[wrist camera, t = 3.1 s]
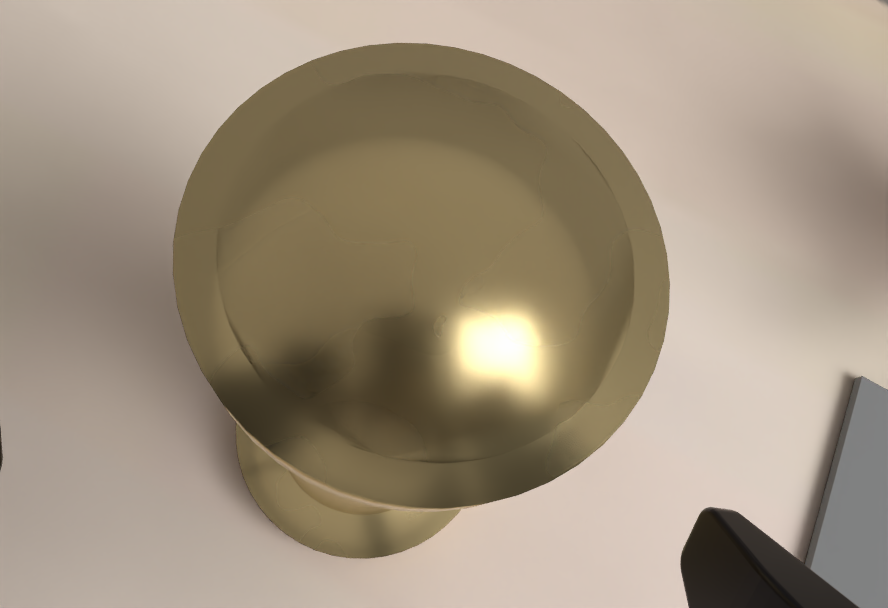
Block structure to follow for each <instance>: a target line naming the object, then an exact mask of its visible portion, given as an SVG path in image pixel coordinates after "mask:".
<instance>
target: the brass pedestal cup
mask: <svg viewBox="0 0 888 608" xmlns="http://www.w3.org/2000/svg"><path fill="white" fill-rule="evenodd" d="M173 277H174V285H175V292H176V299H177V307H178V310H179V314H180V317H181V320H182V324H183V327H184V331H185V334H186V337H187V340H188V343H189V345H190V347H191V349H192V351H193V353H194V356H195V358H196V360H197V362H198V364H199V366H200V369H201V371H202V373H203V374H204V376H205V377H206V379H207V380H208V382H209V383H210V385H211V386H212V388H213V389H214V391H215V393H216V394H217V396H218V397H219V399H220V400H221V402H222V403H223V405H224V406H225V408H226V409H227V411H228V412H229V414H230V415H231V417H232V418H233V419H234V420H235V421H236V447H237V453H238V460H239V464H240V467H241V471H242V474H243V477H244V480H245V482H246V484H247V486H248V488H249V491H250V493H251V495H252V496H253V498H254V499H255V501H256V502H257V504H258V506H259V507H260V509H261V510H262V511H263V512H264V513H265V514H266V516H267V517H268V518H269V519H270V520H271V521H272V522H273V523H274V524H275V525H276V526H277V527H278V528H280V529H281V530H282V531H283V532H284V533H285V534H287V535H288V536H290V537H291V538H293V539H295V540H296V541H298V542H299V543H301V544H303V545H305V546H307V547H310V548H312V549H314V550H316V551H320V552H323V553H326V554H329V555H333V556H339V557H346V558H375V557H383V556H388V555H391V554H395V553H399V552H402V551H405V550H407V549H409V548H412V547H414V546H417V545H419V544H420V543H422V542H424V541H425V540H427V539H429V538H431V537H432V536H434V535H435V534H436V533H437V532H439V531H440V530H441V529H442V528H444V527H445V526H446V525H447V524H448V523H449V522H450V521H451V520H452V519H453V518H454V517H455V516H456V515H457V514H458V513H459V511H460V510H461V509H465V508H470V507H474V506H478V505H482V504H486V503H489V502H493V501H497V500H501V499H505V498H509V497H513V496H517V495H519V494H522V493H524V492H527V491H529V490H531V489H534V488H536V487H539V486H541V485H544V484H546V483H548V482H550V481H552V480H554V479H555V478H557V477H559V476H560V475H562V474H564V473H565V472H567V471H569V470H571V469H572V468H574V467H576V466H577V465H579V464H580V463H581V462H582V461H584V460H585V459H586V458H587V457H588V456H590V455H591V454H592V453H593V452H595V451H596V450H597V449H598V448H600V447H601V446H602V445H603V444H604V443H605V442H606V441H607V440H608V439H609V438H610V437H611V435H612V434H613V433H614V432H615V431H616V430H617V429H618V428H619V427H620V426H621V425H622V424H623V422H624V421H625V420H626V418H627V417H628V415H629V414H630V412H631V411H632V409H633V408H634V407H635V405H636V404H637V402H638V401H639V399H640V398H641V396H642V394H643V392H644V390H645V388H646V386H647V384H648V382H649V380H650V378H651V376H652V374H653V372H654V370H655V367H656V364H657V360H658V357H659V354H660V351H661V348H662V345H663V342H664V337H665V331H666V325H667V319H668V313H669V289H670V281H669V271H668V261H667V253H666V249H665V244H664V240H663V236H662V231H661V227H660V224H659V221H658V219H657V216H656V213H655V210H654V208H653V205H652V202H651V200H650V198H649V196H648V194H647V192H646V190H645V188H644V186H643V184H642V182H641V180H640V178H639V176H638V174H637V173H636V171H635V170H634V168H633V167H632V165H631V163H630V162H629V160H628V159H627V157H626V156H625V154H624V153H623V151H622V150H621V149H620V148H619V146H618V145H617V144H616V143H615V142H614V140H613V139H612V138H611V137H610V136H609V134H608V133H607V132H606V131H605V130H604V129H603V128H602V127H601V126H600V125H599V124H598V123H597V122H596V121H595V120H594V119H593V118H592V117H591V116H590V115H589V114H588V113H587V112H586V111H585V110H584V109H582V108H581V107H580V106H579V105H577V104H576V103H575V102H573V101H572V100H571V99H570V98H568V97H567V96H566V95H564V94H563V93H562V92H560V91H559V90H557V89H556V88H554V87H552V86H551V85H549V84H547V83H546V82H544V81H543V80H541V79H539V78H538V77H536V76H534V75H532V74H530V73H528V72H526V71H524V70H522V69H519V68H517V67H515V66H513V65H511V64H509V63H506V62H503V61H500V60H498V59H495V58H492V57H489V56H486V55H484V54H480V53H476V52H471V51H467V50H463V49H459V48H455V47H448V46H440V45H433V44H419V43H391V44H379V45H368V46H363V47H358V48H353V49H348V50H343V51H339V52H336V53H333V54H330V55H327V56H324V57H321V58H318V59H315V60H312V61H310V62H307V63H305V64H303V65H301V66H299V67H297V68H295V69H293V70H290V71H288V72H286V73H284V74H283V75H281V76H280V77H278V78H277V79H275V80H273V81H272V82H270V83H269V84H267V85H265V86H264V87H262V88H261V89H260V90H258V91H257V92H256V93H255V94H254V95H252V96H251V97H250V98H249V99H248V100H246V101H245V102H244V103H243V104H242V105H240V106H239V107H238V108H237V109H236V110H235V111H234V113H233V114H232V115H231V116H230V117H229V118H228V119H227V120H226V121H225V122H224V123H223V125H222V126H221V127H220V128H219V129H218V130H217V132H216V133H215V135H214V136H213V138H212V139H211V141H210V142H209V143H208V145H207V146H206V148H205V149H204V151H203V152H202V154H201V156H200V158H199V160H198V162H197V164H196V166H195V168H194V170H193V172H192V174H191V176H190V178H189V180H188V183H187V186H186V189H185V192H184V195H183V198H182V201H181V204H180V208H179V211H178V217H177V223H176V229H175V235H174V241H173Z"/></svg>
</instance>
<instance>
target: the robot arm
mask: <svg viewBox="0 0 888 608" xmlns="http://www.w3.org/2000/svg"><path fill="white" fill-rule="evenodd" d="M2 460H3V455H2V442H1V428H0V470H1V467H2ZM681 573H682V577H683V582H684V587H685V592H686V596H687V601H688V606H689V608H859V607H858V606H857V605H856V604H854V603H853V602H852V601H850V600H849V599H848V598H847V597H845V596H844V595H843V594H842V593H840V592H839V591H838V590H836V589H835V588H834V587H833V586H831V585H830V584H829V583H828V582H826V581H825V580H824V579H822V578H821V577H820V576H819V575H817V574H816V573H815V572H814V571H812V570H811V569H810V568H808V567H807V566H806V565H805V564H803V563H802V562H801V561H800V560H798V559H797V558H796V557H794V556H793V555H792V554H791V553H789V552H788V551H787V550H785V549H784V548H783V547H782V546H780V545H779V544H778V543H777V542H775V541H774V540H773V539H771V538H770V537H769V536H768V535H766V534H765V533H764V532H763V531H761V530H760V529H759V528H757V527H756V526H755V525H754V524H752V523H751V522H750V521H749V520H747V519H746V518H745V517H743V516H742V515H741V514H739V513H738V512H736V511H733V510H728V509H721V508H714V507H709V508H705V509H704V510H703V511H702V512H701V513H700V515H699V517H698V519H697V521H696V523H695V525H694V527H693V529H692V531H691V533H690V536H689V538H688V540H687V542H686V544H685V546H684V548H683V551H682V555H681Z"/></svg>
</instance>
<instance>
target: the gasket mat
mask: <svg viewBox="0 0 888 608" xmlns="http://www.w3.org/2000/svg"><path fill="white" fill-rule="evenodd" d="M805 565H806V566H807V567H808V568H810V569H811V570H812V571H814V572H815V573H816V574H817V575H819V576H820V577H821V578H822V579H824V580H825V581H826V582H828V583H829V584H830V585H831V586H833V587H834V588H835V589H836V590H838V591H839V592H840V593H842V594H843V595H844V596H845V597H847V598H848V599H849V600H850V601H852V602H853V603H854V604H856V605H857V606H858V607H859V608H888V390H887V389H885V388H883V387H881V386H879V385H878V384H876V383H874V382H872V381H870V380H869V379H867V378H865V377H863V376H861V377H858V378H855V381H854V385H853V389H852V392H851V396H850V400H849V403H848V407H847V411H846V414H845V418H844V422H843V425H842V429H841V433H840V436H839V440H838V444H837V447H836V451H835V455H834V458H833V462H832V466H831V469H830V473H829V477H828V480H827V484H826V488H825V491H824V495H823V499H822V502H821V506H820V510H819V513H818V517H817V521H816V524H815V528H814V532H813V535H812V539H811V543H810V546H809V550H808V553H807V557H806V561H805Z"/></svg>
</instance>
